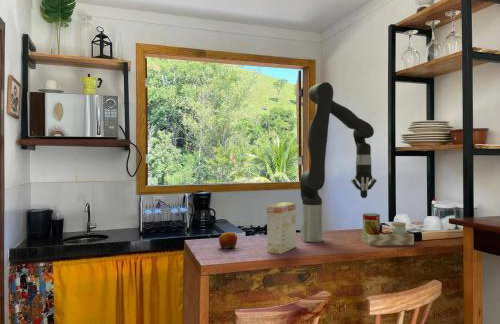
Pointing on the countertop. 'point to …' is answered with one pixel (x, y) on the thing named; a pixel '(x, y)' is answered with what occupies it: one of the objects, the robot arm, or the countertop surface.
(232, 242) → the fruit
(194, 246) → the countertop surface
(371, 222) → the canned food
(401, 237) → the grey green tray
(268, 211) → the coffeecake box
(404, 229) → the jar
